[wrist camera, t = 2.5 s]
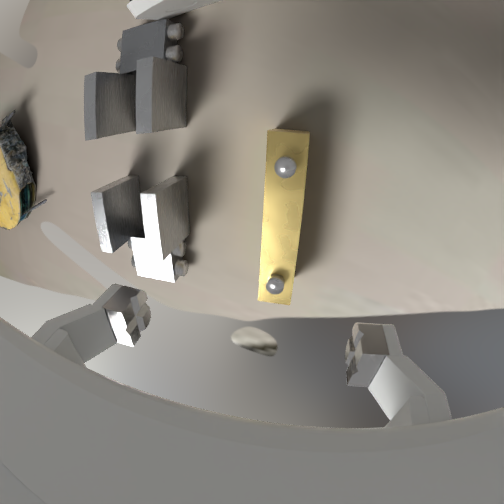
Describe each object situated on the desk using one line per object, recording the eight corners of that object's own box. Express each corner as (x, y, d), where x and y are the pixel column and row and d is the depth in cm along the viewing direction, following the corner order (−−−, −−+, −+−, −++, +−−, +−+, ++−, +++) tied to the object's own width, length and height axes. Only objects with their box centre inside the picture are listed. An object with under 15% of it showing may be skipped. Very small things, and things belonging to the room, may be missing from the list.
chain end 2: (186, 176, 21) (155, 194, 16) (193, 272, 25) (170, 305, 21) (127, 175, 22) (90, 192, 17) (139, 263, 26) (112, 290, 22)
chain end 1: (190, 22, 14) (158, 3, 10) (186, 127, 19) (151, 132, 14) (127, 37, 15) (89, 28, 11) (124, 132, 20) (85, 140, 15)
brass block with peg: (309, 131, 17) (309, 135, 13) (294, 276, 23) (288, 312, 19) (275, 128, 18) (265, 131, 14) (266, 272, 24) (255, 307, 19)
